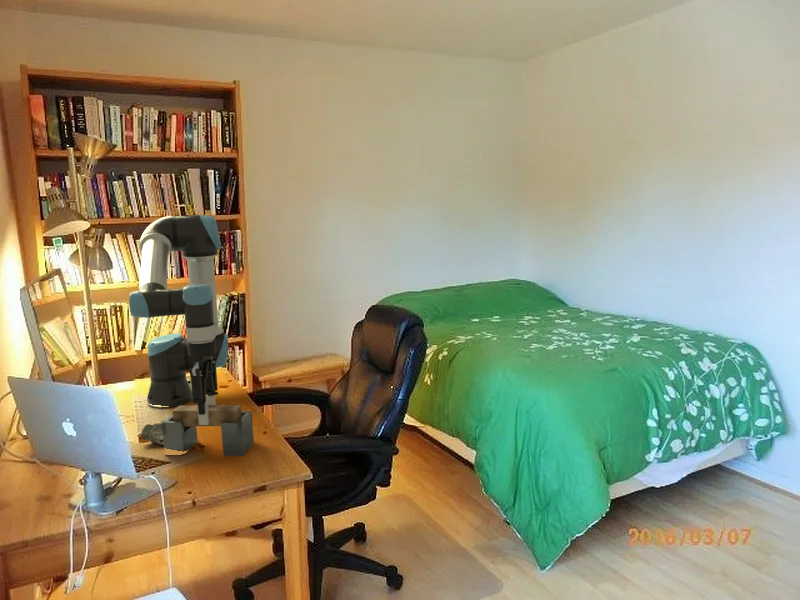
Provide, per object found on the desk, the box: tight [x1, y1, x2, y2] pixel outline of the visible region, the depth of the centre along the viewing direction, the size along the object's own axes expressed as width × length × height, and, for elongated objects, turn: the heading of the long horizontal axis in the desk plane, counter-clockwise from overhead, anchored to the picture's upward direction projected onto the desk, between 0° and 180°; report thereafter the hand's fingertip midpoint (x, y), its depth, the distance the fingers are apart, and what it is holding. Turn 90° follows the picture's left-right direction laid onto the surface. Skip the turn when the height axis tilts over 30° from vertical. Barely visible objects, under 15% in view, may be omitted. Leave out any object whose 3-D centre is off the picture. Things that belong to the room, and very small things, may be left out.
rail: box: [171, 404, 242, 427], centre depth 171 cm, size 18×4×4 cm, turn 86°
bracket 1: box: [161, 413, 199, 452], centre depth 173 cm, size 9×6×10 cm, turn 176°
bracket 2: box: [220, 410, 255, 457], centre depth 171 cm, size 9×6×10 cm, turn 176°
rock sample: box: [139, 422, 164, 446], centre depth 178 cm, size 10×8×9 cm
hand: (207, 420), depth 171 cm, fingers closed on rail, 4 cm apart
